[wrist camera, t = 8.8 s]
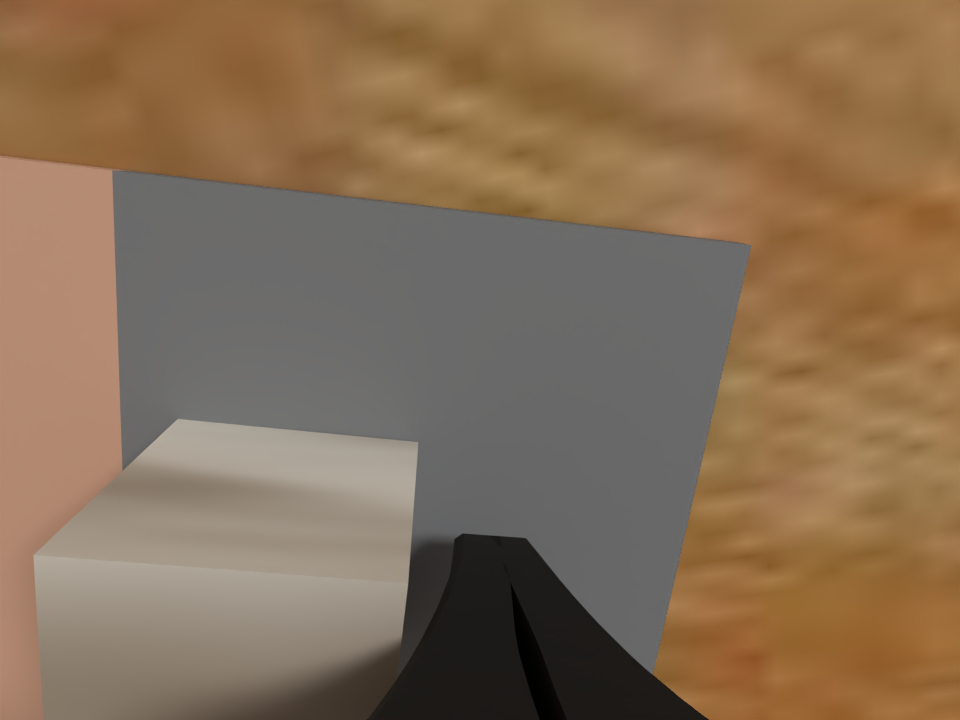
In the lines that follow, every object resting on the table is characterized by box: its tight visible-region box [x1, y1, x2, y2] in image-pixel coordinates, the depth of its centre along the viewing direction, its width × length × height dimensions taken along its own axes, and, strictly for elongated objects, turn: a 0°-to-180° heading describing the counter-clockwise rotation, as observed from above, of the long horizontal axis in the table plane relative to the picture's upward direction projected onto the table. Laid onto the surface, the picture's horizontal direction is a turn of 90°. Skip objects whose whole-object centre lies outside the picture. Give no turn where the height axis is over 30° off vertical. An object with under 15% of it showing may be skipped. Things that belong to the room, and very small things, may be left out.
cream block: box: [33, 419, 418, 720], centre depth 10 cm, size 4×4×4 cm
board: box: [0, 156, 751, 720], centre depth 11 cm, size 12×22×1 cm, turn 83°
